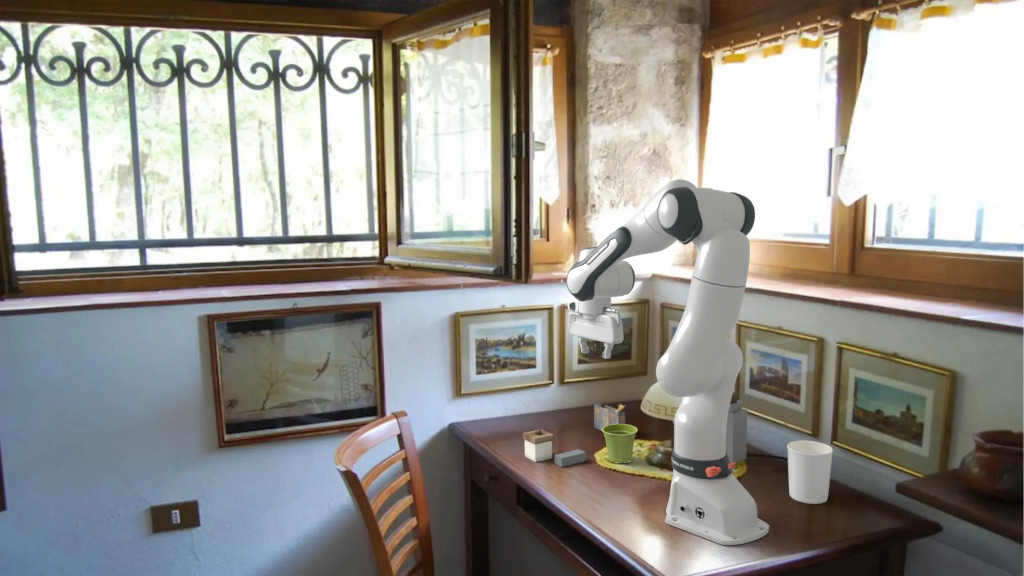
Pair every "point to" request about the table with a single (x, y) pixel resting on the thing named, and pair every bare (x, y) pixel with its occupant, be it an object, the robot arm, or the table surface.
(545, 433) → the lid
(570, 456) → the gray rectangular block
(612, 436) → the plant pot
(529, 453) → the white open box
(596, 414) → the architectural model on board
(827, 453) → the candle holder
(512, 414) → the table surface
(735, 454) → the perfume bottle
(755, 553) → the table surface
